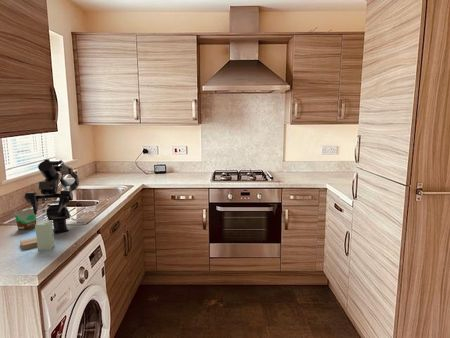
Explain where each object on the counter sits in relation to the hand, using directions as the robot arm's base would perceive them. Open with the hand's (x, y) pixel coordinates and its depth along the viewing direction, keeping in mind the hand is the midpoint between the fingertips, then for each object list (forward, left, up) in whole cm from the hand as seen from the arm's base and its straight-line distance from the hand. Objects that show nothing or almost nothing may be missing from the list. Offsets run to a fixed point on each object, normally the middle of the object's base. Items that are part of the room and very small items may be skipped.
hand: (46, 213), depth 141 cm
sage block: (+4, -2, -14) cm, 15 cm away
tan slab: (-3, -7, -14) cm, 16 cm away
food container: (-31, -4, -14) cm, 34 cm away
